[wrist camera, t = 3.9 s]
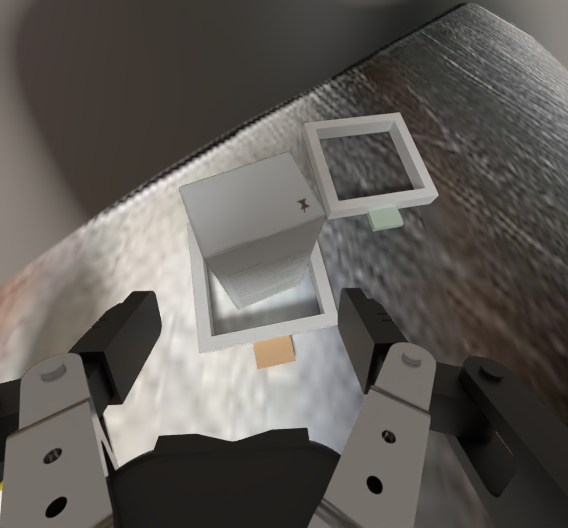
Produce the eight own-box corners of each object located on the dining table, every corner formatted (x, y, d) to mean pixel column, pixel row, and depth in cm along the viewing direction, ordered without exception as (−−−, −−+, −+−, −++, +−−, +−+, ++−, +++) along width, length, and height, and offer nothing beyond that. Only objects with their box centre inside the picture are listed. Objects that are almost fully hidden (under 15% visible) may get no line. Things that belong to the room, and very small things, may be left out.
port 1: (305, 213, 26) (307, 205, 24) (341, 350, 22) (347, 349, 20) (191, 231, 24) (186, 223, 23) (206, 380, 20) (201, 381, 19)
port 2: (393, 123, 31) (399, 112, 29) (437, 220, 26) (447, 212, 25) (302, 134, 29) (304, 122, 28) (333, 238, 25) (336, 230, 24)
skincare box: (281, 244, 25) (293, 147, 13) (300, 284, 23) (331, 215, 12) (219, 268, 23) (174, 183, 12) (236, 312, 22) (203, 263, 11)
